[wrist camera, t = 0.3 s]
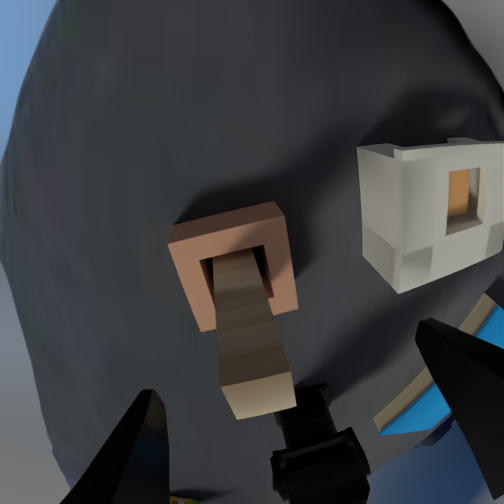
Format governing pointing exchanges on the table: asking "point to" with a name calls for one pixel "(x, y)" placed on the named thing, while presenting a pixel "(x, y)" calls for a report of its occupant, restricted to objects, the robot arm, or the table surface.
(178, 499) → the printed toy box
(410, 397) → the book
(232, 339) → the tan square peg
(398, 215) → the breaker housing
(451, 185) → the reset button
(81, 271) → the table surface
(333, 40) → the table surface
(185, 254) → the holder
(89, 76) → the table surface
